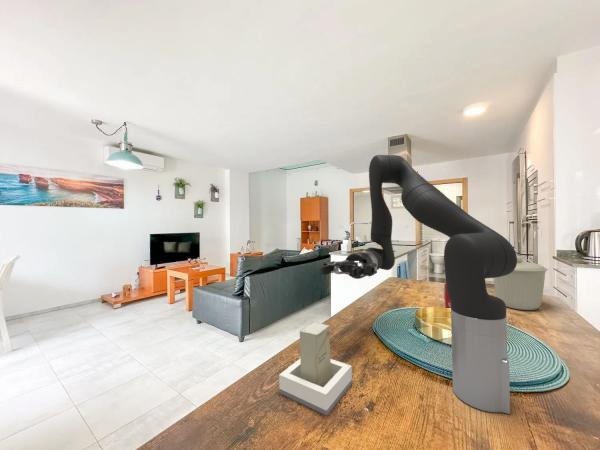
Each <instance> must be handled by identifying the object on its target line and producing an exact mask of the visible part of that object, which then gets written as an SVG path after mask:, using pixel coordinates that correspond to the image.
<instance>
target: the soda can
mask: <svg viewBox="0 0 600 450" xmlns="http://www.w3.org/2000/svg"><path fill="white" fill-rule="evenodd" d="M443 289H444V291H443V296H444V308H445V309H446V308H451V302H450V299H449V296H448V293H447V289H446V281H445V283H444V284H443Z"/></svg>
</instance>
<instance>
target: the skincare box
mask: <svg viewBox="0 0 600 450" xmlns="http://www.w3.org/2000/svg"><path fill="white" fill-rule="evenodd" d="M330 337H331V336H330V325H329V324H324V323H320V322H315V321H313V322H312V323H310V324H308V325H307V326H305V327H304V328H302V329H301V330H299V350H300V351H299V353H300V354H299V356H300V358H299V359H300V360H301V379H304V380H306V381H309V382H311V383H314V384H316V385H318V386H321V387H324V386H325V385H326V384H327V383H328V382H329V381H330V380H331V362H330V359H331V338H330Z"/></svg>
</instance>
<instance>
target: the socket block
mask: <svg viewBox="0 0 600 450" xmlns="http://www.w3.org/2000/svg"><path fill="white" fill-rule="evenodd" d="M330 362H331V380H330V381H329V382H328V383H327V384H326V385H325V386H324V387H321V386H318V385H316V384H314V383H311V382H309V381H306V380H304V379H301V360H300V358H299V359H297V360H296V361H295V362H294V363H292V364H291V365H289V366H288V367H287V368H285V369H284V370H283V371H282V372H281V373H279V375H278V380H279V384H278V385H279V387H278V388H279V394H280V395H281V396H285V397H286V398H288V399H289V400H290V399H291V400H293V401H295V402H297V403H299V404H301V405H303V406H305V407H306V408H309V409H311V410H313V411H315V412H318V413H319V414H322V415H323V416H326V417H327V416H328V415H330V414H329V413H330V412H331V411H332V410H333V409H334V407H335V406H336V404H337V403H338V402H339V401H340V400H341V398H342V397H343V396H344V395H345V393H346V392H347V391H348V389H350V387H351V386H352V384H353V371H352V369H353V368H352V365H350V364H348V363H345V362H343V361H342V362H341V361H338V360H335V359H334V358H333V359H332V358H330Z"/></svg>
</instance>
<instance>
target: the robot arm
mask: <svg viewBox="0 0 600 450" xmlns="http://www.w3.org/2000/svg"><path fill="white" fill-rule="evenodd" d="M369 162H370V163H369V167H368V180H369V181H368V182H369V193H370V194H369V195H370V197H369V198H370V204H371V206H370V207H371V221H370V222H371V225H370V241H372V243H375V244H378V245H379V246H380V247H381V248H378V247H377V248H376V247H368V248H367V249H366V250H365V251H358V252H354V253H350V254H348V256H347V257H346V258H345V259H344V260H339V261H336V260H332V261H329V262H323V263H322V266H321V269H320V271H321V273H320V274H322V275H323V276H325V275H329V274H335V275H348V276H349V277H351V278H353V279H356V280H360V279H363V278H366V277H367V276H368V277H373V276H374V275H376V274H377V273H378V270H379V269H381V270H383V271H390V270H391V269H392V268H393V267H394V266H395V264H396V263H395V262H396V257H395V251H394V247H393V241H392V233H393V216H392V213H391V211H390V208H389V207H388V205H387V202H386V201H385V198H384V194H383V184H395V185H398V186H399V187H400V188H401V189H402V190H401V196H400V197H401V199H400V200H401V203H402V205H403V207H404V209H405V210H406V211H407V212H408V213H409V214H410V215H411V216H412V217H413V219H415V220H416V221H417V222H418V223H421V224H423V225H424V226H426V227H428V228H430V229H431V230H434V231H437V232H438V233H441V234H443V235H445V236H447V237H448V238H449V239H448V240H447V241H446V243H445V246H444V250H443V251H444V252H443V263H444V265H443V266H444V275H445V282H446V289H447V293H448V296H449V299H450V302H451V312H450V321H451V322H450V327H451V334H452V337H451V359H452V360H451V362H452V363H451V364H452V366H451V367H452V370H451V371H452V377H451V378H452V391H453V392H454V395H456V397H457V398H458V399H459V400H460V401H462V402H464V403H465V404H467V405H468V406H470V407H472V408H475V409H477V410H480V411H484V412H489V413H505V414H508V415H511V393H510V392H511V390H510V388H511V387H510V363H509V362H510V361H509V357H508V330H507V329H508V328H507V327H508V325H507V323H508V322H507V307H506V304H505V302H504V301H503V300H502V299H500V298H498V297H496V295H492V294H489V293H488V291H487V284H486V283H487V282H486V279H493V278H496V277H501V276H505V275H508V274H510V273H511V272H513V271H514V269H515V268H516V265H517V256H516V255H517V252H516V250H515V247H513V245H512V244H511V243H510V241H509V240H508V239H507V238H506V237H504V236H503V235H501V234H500V233H499V232H497V231H496V230H494V229H493V228H491V227H489V226H487V225H486V224H485V223H483V222H481V221H479V220H478V219H476V218H475V217H473V216H471V215H470V214H469V213H468V212H466V211H465V210H464V209H463V208H461V207H460V206H459V205H457V204H456V203H455V202H454V201H453V200H451V199H450V198H449V197H447V196H446V194H444V193H443V192H442V191H440V189H438V188H437V187H436V186H435V185H433V184H432V183H430V182H429V181H428V180H427V179H425V177H423V176H422V175H421V174H420V173H418V172H417V171H416V170H415V169H414V168H413V167H412V166H411V165H410V164H409V162H408V161H407V160H406V159H405V158H404V157H403V156H400V155H396V154H393V155H392V154H377V155H374V156H373V157H372V159H371V160H370V161H369Z"/></svg>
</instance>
